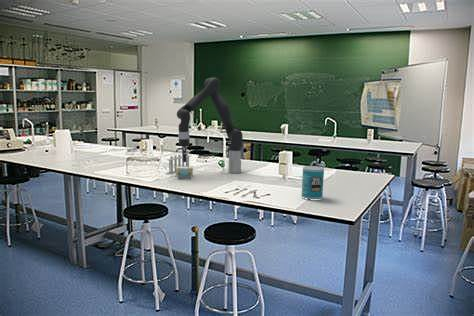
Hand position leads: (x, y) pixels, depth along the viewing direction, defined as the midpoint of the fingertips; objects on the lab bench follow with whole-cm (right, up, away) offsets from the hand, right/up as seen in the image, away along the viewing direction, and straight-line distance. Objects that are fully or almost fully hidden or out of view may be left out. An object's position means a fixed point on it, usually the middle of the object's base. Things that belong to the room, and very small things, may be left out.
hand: (184, 160), depth 261 cm
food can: (+81, -22, -44) cm, 95 cm away
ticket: (-2, -11, +9) cm, 14 cm away
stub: (-1, -11, +2) cm, 12 cm away
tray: (-1, -12, +2) cm, 12 cm away
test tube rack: (-7, -9, +24) cm, 26 cm away
